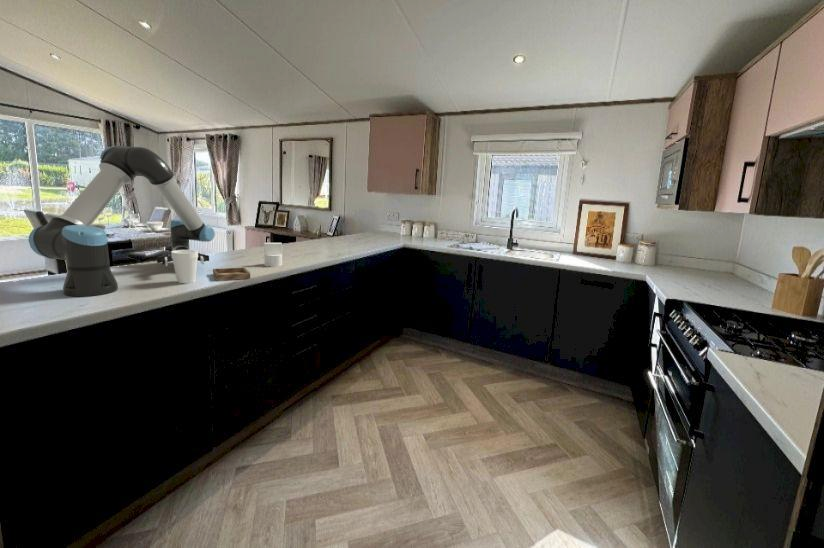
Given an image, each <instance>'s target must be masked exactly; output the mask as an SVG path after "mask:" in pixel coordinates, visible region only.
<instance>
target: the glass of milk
mask: <svg viewBox="0 0 824 548" xmlns="http://www.w3.org/2000/svg"><path fill="white" fill-rule="evenodd" d="M263 246H264V247H263V248H264V251H263V252H264V253H263V254H264V259H263V261H264V267H269V266H270V267H274V266H277V267H281V265H282V266H283V243H282V242H263ZM274 268H275V267H274Z"/></svg>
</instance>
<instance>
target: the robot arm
mask: <svg viewBox="0 0 824 548" xmlns="http://www.w3.org/2000/svg"><path fill="white" fill-rule="evenodd" d="M99 159H100V160H99V161H100V163H99V164H98V167H99V170H100V171H99V172H98V173H97V174H96V175H95V176H94V178H92V180H91V181H90V182H89V183H88V185H86V187H85V188H84V189H83V190H82V191H81V192H80V194H79V195H77V197H76V198H75V199H74V200H73V202H72V203H71V204H70V205H69V206H68V208H66V210H65V211H64V212H63V213H62V214H61V215H58V216H57V215H55V216H53V217H51V219H50V220H49V221H48V222H47V224H44V225H43V224H42V225H40V226H37V227H34V228H33V229H32V230H31V231H30V233H29V234H28V235H29V236H28V245H29V246H30V249H31V250H32V251H33V253H35V254H37V255H39V256H40V257H44V258H47V259H52V260H62V261H65V263H66V269H67V271H66V272H67V273H66V275H65V276H66V277H65V279H64V283H63V285H62V292H63V295H65V296H69V297H90V296H91V297H92V296H99V295H106V294H110V293H114V292H116V291H118V289H119V285H118V284H119V283H118V281H117V280H116V278H115V275H114V274H113V272H112V270H111V265H110V255H109V246H108V245H109V243H108V242H109V241H108V238H107V232H106V231H105V229H103V228H101V227H97V226H94V225H92V224H93V223H94V222H95V221H96V220H97V218H99V216H100V215H101V214H102V212H103V211H104V210H105V208H106V207H107V206H108V205H109V203H110V202H111V201H112V200H113V198H114V197H115V196H117V193H118V192H119V191H120V190H121V189H122V187H123V186H124V185H129V184H131V183H132V182H133V181H134V179H135V178H136V177H143V178H145V179H146V180H148V182H149V183H150V184H151V185H152V186H155V187H156V188H157V189H158V190H159V192H160V193H161V195H162V196H163V198H164V200H165V201H167V203H168V205H169V207H171V209H172V210H173V211H174V213H175V214H176V215H177V217H178V219H176V218H175V219H171V220H170V228H169V229H170V240H171V242H170V243H171V252H172V251H175V250H191V249H190V241H197V242H208V243H209V242H211V241H213V240H214V238H215V235H216V234H215V229H214V228H213V227H212V226H210V225H209V226H208V225H206V224H205V223H204V221H203V219H202V218H201V217H200V216H199V213H198V212H197V211H196V210H195V208H194V206H193V205H192V204H191V202H190V200H189V199H188V197H187V196H186V194H185V193H184V192H183V190H182V188H181V187H180V186H179V184H178V182H177V181H176V180H175V178H174V177H175V174H174V172H173V170H172V168H170V166H169V165H168V164H167V162H166V161H164V160H163V159H162V158H161V156H160V155H158V154H157V153H156V152H155V151H153V150H151V149H149V148H147V147H142V146H125V145H114V146H109V147H106V148H105V149H104V150H102V151H101V153H100V157H99ZM198 261H199V262H200V263H201V265H205V262H210V255H208V254H204V253H200V252H198V259H197V262H198ZM170 262H173V259H172V256H171V254H170V253H165V254H163V255H158V256H156V263H157V264H161V265H165V267H168V266H169V265H168V263H170Z"/></svg>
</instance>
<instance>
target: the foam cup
mask: <svg viewBox="0 0 824 548" xmlns="http://www.w3.org/2000/svg"><path fill="white" fill-rule="evenodd" d="M198 253H199V251H198V250H195V249H190V250H175V251H172V250H171V253H170V255H171V256H172V259H173V261H172V263H173V267H174V272H175V277H176V281H177V283H178V282H179V283H178V284H180V283H189V284H191V283H190V282H194V283H195V282H196V280H197V269H198V268H197V267H198V266H197V265H198V261H197V259H198Z"/></svg>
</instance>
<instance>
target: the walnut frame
mask: <svg viewBox="0 0 824 548" xmlns="http://www.w3.org/2000/svg"><path fill="white" fill-rule="evenodd" d="M212 275H213V277H214V278H216V279H215V280H216V282H219V280H224V281H236V280H235V279H240V280H250V279H251V273H250V271H248V269H247V268H246V267H243V266H242V267H225V268H212Z"/></svg>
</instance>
